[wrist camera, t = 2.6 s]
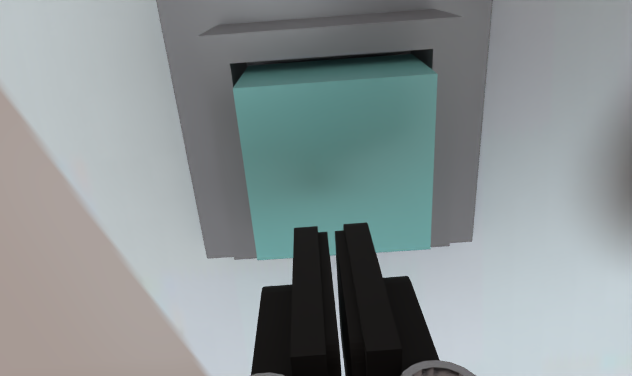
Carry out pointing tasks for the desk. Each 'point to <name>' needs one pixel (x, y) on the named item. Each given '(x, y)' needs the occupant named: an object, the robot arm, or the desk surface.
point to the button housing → (314, 45)
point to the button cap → (339, 150)
